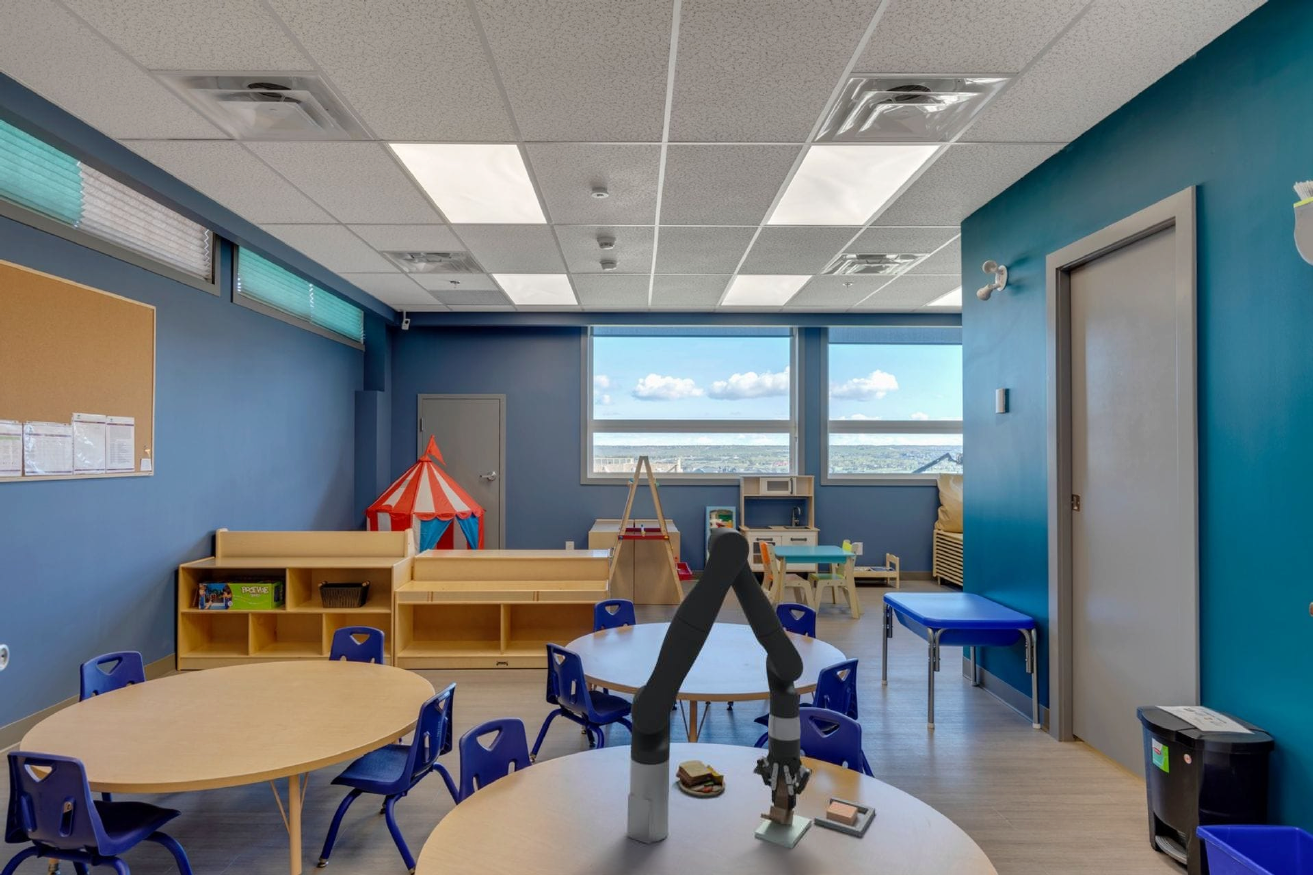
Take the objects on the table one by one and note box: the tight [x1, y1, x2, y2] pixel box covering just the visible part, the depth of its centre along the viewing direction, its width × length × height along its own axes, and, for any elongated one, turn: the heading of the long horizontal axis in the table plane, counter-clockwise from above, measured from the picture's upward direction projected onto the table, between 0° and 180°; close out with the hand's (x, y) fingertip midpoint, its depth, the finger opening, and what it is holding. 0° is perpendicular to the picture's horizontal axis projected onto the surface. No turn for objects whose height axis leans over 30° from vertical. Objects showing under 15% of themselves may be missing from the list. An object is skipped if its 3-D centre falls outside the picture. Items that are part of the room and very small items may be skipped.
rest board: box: [754, 814, 812, 849], centre depth 159 cm, size 13×9×1 cm
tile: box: [825, 801, 858, 827], centre depth 165 cm, size 6×6×2 cm
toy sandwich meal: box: [675, 760, 726, 797], centre depth 181 cm, size 12×14×5 cm
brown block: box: [760, 777, 795, 825], centre depth 160 cm, size 8×5×11 cm, turn 147°
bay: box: [813, 795, 876, 838], centre depth 165 cm, size 13×11×1 cm
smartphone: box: [753, 763, 802, 784], centre depth 190 cm, size 8×1×15 cm
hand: (783, 806), depth 159 cm, fingers closed on brown block, 3 cm apart
